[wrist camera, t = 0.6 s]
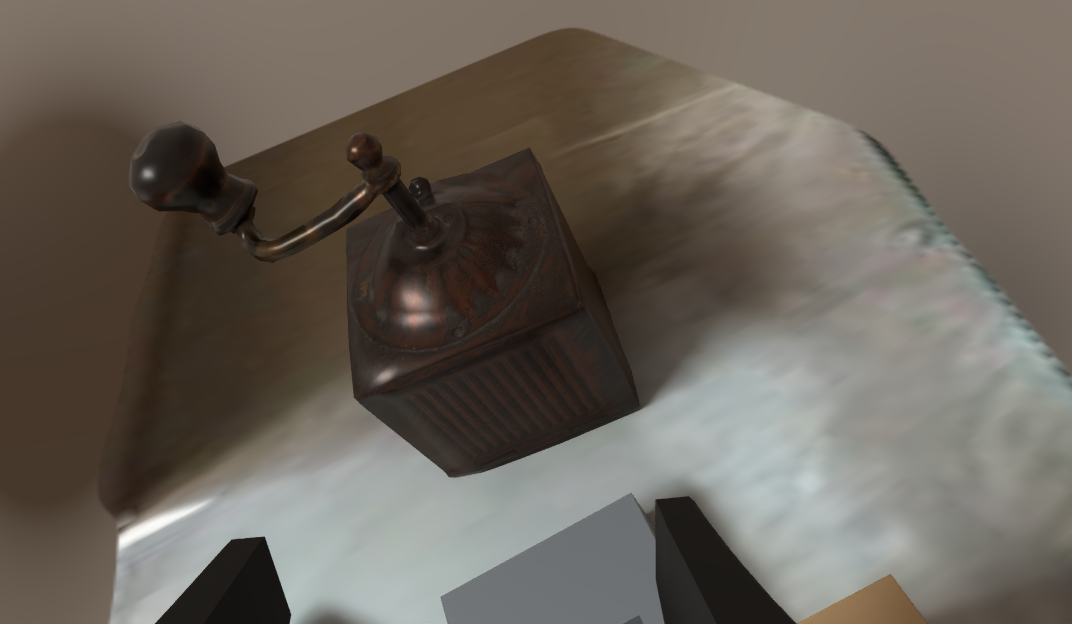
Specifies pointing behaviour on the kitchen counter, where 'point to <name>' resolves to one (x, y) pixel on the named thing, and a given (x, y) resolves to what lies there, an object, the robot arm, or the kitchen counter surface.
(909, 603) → the oak peg
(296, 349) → the kitchen counter surface
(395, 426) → the manual coffee grinder
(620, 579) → the hole board
